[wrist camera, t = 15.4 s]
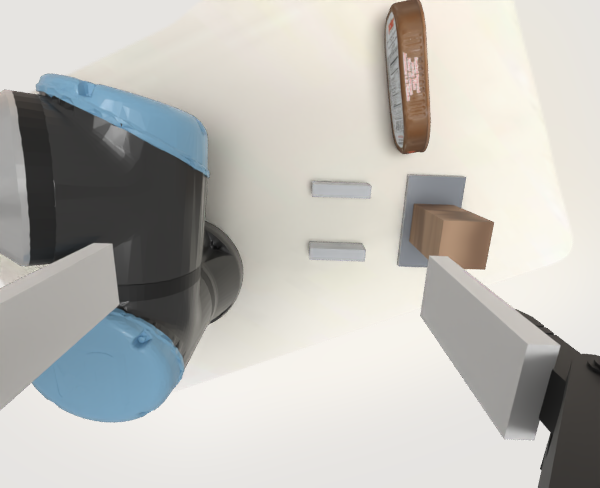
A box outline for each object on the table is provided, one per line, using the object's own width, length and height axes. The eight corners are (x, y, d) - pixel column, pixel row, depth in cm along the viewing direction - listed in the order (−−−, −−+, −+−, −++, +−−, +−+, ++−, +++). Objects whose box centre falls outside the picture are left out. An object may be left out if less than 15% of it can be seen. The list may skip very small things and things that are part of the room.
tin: (414, 150, 44) (439, 152, 35) (388, 154, 44) (407, 157, 36) (404, 14, 39) (430, -19, 31) (376, 19, 40) (395, -13, 32)
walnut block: (409, 241, 46) (436, 267, 36) (413, 203, 44) (443, 220, 35) (447, 242, 46) (485, 269, 36) (453, 204, 44) (494, 222, 35)
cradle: (309, 252, 47) (309, 259, 44) (312, 181, 45) (312, 183, 42) (361, 254, 47) (364, 261, 44) (367, 183, 45) (371, 186, 42)
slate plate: (397, 264, 48) (398, 266, 47) (407, 174, 44) (409, 175, 44) (448, 266, 48) (451, 268, 47) (463, 176, 44) (466, 177, 43)
